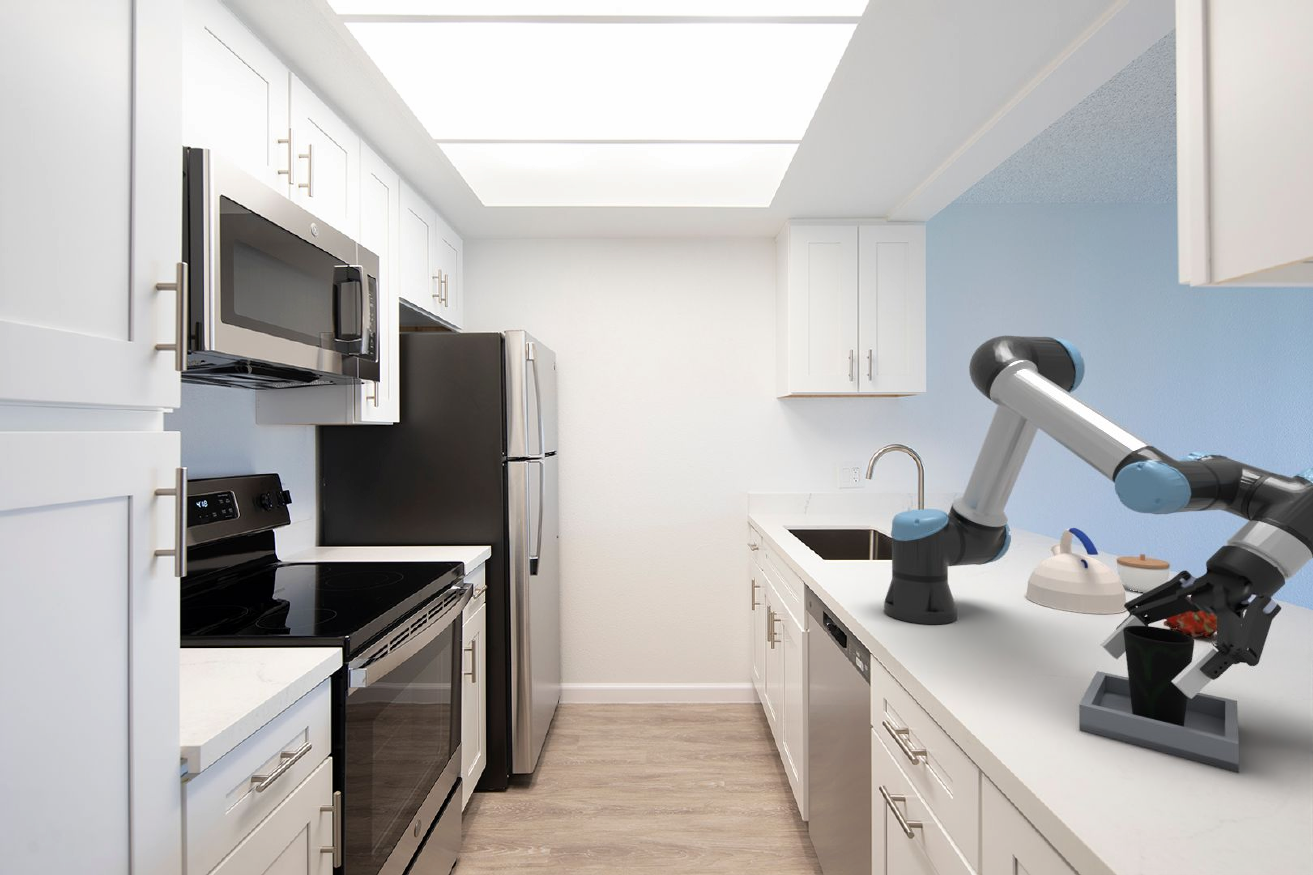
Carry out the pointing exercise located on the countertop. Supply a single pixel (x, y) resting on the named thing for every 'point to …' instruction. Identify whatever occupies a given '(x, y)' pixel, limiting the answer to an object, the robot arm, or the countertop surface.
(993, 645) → the countertop surface
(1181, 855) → the countertop surface
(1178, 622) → the dragon fruit
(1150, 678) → the cup
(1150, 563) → the lidded jar
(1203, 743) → the box
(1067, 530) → the kettle
